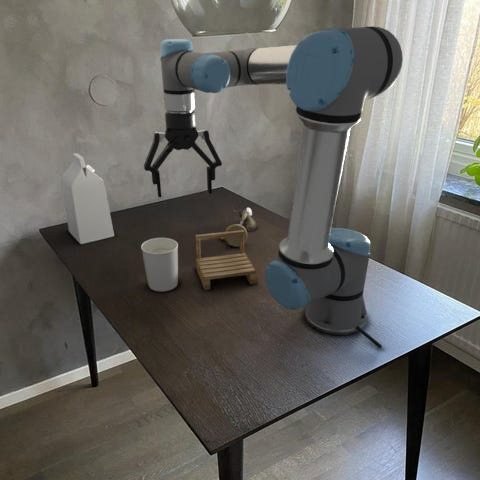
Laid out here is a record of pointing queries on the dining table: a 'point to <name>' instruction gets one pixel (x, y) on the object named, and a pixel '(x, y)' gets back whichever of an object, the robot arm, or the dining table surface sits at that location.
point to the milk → (86, 203)
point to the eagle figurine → (247, 219)
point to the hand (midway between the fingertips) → (184, 193)
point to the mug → (236, 239)
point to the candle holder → (161, 263)
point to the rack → (223, 261)
